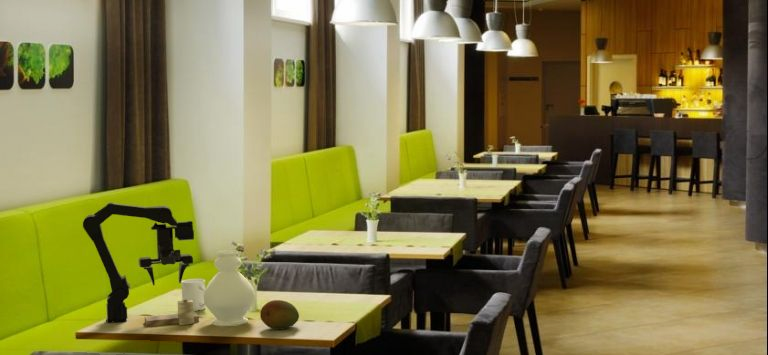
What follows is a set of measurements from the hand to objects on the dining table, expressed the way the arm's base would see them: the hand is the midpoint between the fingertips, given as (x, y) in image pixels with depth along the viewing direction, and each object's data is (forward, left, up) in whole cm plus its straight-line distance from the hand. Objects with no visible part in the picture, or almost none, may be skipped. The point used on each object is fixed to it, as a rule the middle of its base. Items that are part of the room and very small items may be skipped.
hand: (166, 284), depth 400 cm
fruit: (+33, -35, -12) cm, 50 cm away
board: (0, -9, -12) cm, 15 cm away
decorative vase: (+19, -18, -12) cm, 29 cm away
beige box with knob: (+4, -11, -12) cm, 17 cm away
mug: (+12, +9, -12) cm, 19 cm away
